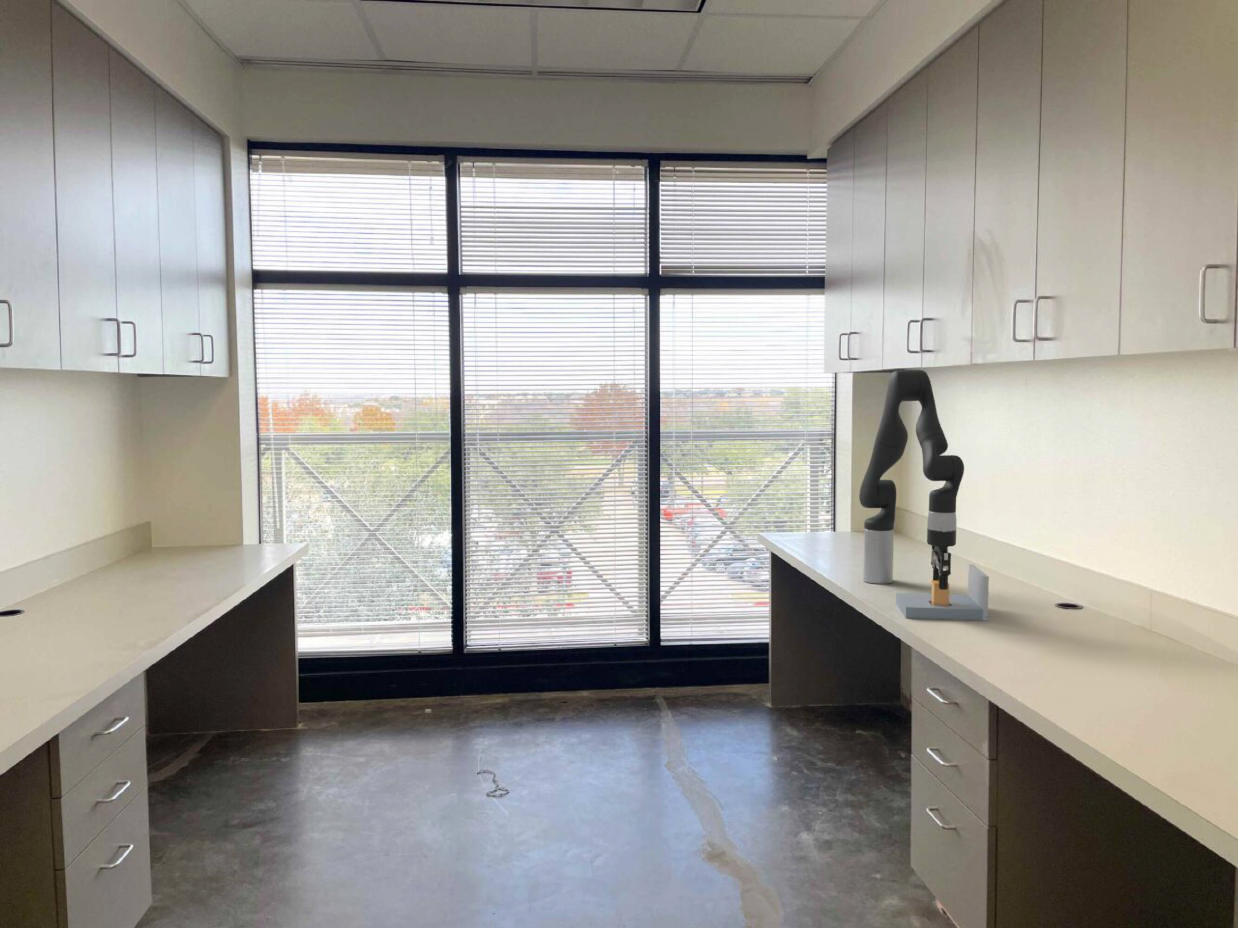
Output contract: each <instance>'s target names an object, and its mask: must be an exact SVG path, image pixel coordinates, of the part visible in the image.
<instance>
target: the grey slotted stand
mask: <svg viewBox="0 0 1238 928" xmlns="http://www.w3.org/2000/svg"><path fill="white" fill-rule="evenodd" d="M967 572H968V575H967V576H968V579H967V582H968V583H967V594H950V593H949V606H939V605H931V593H908V592H895V604H896V605H897V607H898V609H899V610H900V612H901V613H902V614H903V616H904V618H905V619H920V620H921V619H922V620H923V619H924V620H925V619H926V620H953V621H954V620H955V621H956V620H957V621H982V622H983V621H986V622H988V616H989V613H988V610H989V583H990V582H989V580H990V579H989V578H990V577H989V575H987V574H986V573H985V572H984V571H982V570H981V569H980V568H979V567H977V566H976V565H975V564H973V563H968V571H967Z"/></svg>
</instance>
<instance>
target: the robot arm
mask: <svg viewBox="0 0 1238 928" xmlns="http://www.w3.org/2000/svg"><path fill="white" fill-rule="evenodd" d="M930 379H931V378H930V377H929V375H928V373H927V372H926V371H925V370H922V369H898V370H894V371H892V373H891V375H890V377H889V379H888V382H887V383H888V384H887V388H886V394H885V401H884V407H883V412H882V414H881V415H882V416H881V419H880V422H879V423H880V424H879V427H878V429H877V433H876V436H875V440H874V443H873V448H872V453H871V457H870V461H869V464H868V466H867V469H866V472H865V474H864V477H863V479H862V482H861V486H860V489H859V502H860V505H861V506H862V507H863V508H866V509H880V511H879V512H878V513H877V514H876V515H874V516H871V517H868V518H866V519H865V520H864V524H863V525H864V531H863V532H864V533H863V538H864V539H863V542H864V543H863V577H862V578H863V582H865V583H868V584H869V583H870V584H877V585H878V584H879V585H881V584H883V585H884V584H885V585H886V584H891V583H894V581H893V580H894V541H895V540H894V536H895V535H894V532H895V531H894V530H895V521H896V504H897V487H896V484H895V481H893V480H891V479H881V478H882V477H883V475H885V473H886V472H888V471H889V470H890V469H891V468H893V466H894V465H896V463H898V461H900V459H901V458H902V457H903V456H904V453H905V449H906V447H907V442H908V438H909V434H908V430H907V428H906V425H905V424H904V422H903V419H902V417H901V415H900V405H901V403H903V402H919V403H920V405H921V410H920V413H919V416H918V418H917V421H916V424H915V434H916V437H917V440H918V442H919V446H920V448H921V453H922V454H921V455H922V472H923V475H924V477H925V478H926V479H928V480H929V481H931V482H945V483H944V484H943V486H942V487H939V488H937V489H933V490H931V491H930V492H929V495H928V516H927V525H926V526H927V528H926V529H927V530H926V537H927V538H926V544H927V545H929V546H931V557H930V558H931V562H930V564H931V567H932V580H933V581H939V589H941V590H947V589H948V583H949V576H951V574H952V572H951V570H952V569H951V568H952V567H951V565H952V564H951V563H952V562H951V561H952V554H951V552H949V547H955V546H956V544H957V497H958V493H959V489H960V486H961V483H962V480H963V477H964V473H965V464H964V462H963V459H962V458H961V457H960V456H958V455H955V454H954V455H953V454H951V455H950V454H946V455H945V453H946V451H947V450H948V448H949V444H948V440H947V438H946V435H945V433H944V431H943V428H942V426H941V425H942V424H941V421H940V420H939V416H938V412H937V406H936V401H935V396H934V392H933V387H932V383H931V380H930ZM944 569H945V570H944Z"/></svg>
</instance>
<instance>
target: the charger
mask: <svg viewBox="0 0 1238 928" xmlns="http://www.w3.org/2000/svg"><path fill="white" fill-rule="evenodd" d="M930 594H931V605H939V606H949V594H950V583H949V582H948V589H947V590H941V589H939V581H933V579H932V580H931V593H930Z"/></svg>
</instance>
